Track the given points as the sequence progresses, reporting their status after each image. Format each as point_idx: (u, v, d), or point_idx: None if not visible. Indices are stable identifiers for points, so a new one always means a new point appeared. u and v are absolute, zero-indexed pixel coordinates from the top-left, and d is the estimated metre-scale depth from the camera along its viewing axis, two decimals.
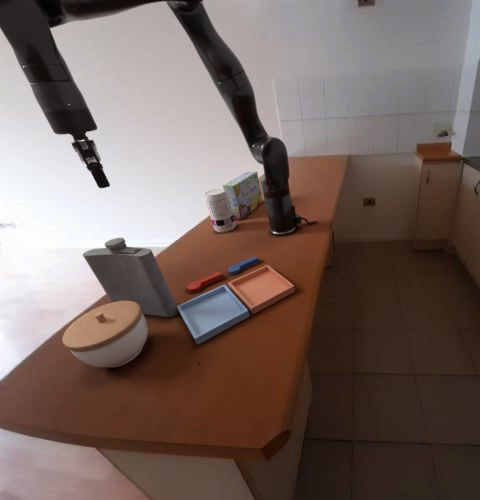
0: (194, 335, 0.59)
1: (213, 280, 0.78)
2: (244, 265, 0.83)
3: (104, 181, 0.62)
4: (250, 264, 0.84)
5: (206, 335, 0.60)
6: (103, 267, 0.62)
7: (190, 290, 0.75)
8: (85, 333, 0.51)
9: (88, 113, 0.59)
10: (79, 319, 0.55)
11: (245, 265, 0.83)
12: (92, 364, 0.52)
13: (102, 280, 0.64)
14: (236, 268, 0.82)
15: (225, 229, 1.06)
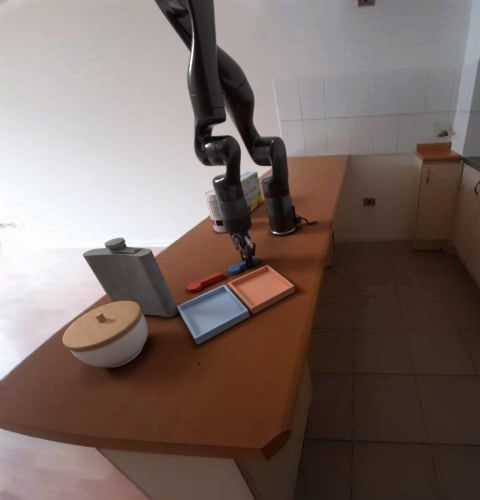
0: (194, 335, 0.59)
1: (213, 280, 0.78)
2: (244, 265, 0.83)
3: (252, 263, 0.83)
4: None
5: (206, 335, 0.60)
6: (103, 267, 0.62)
7: (190, 290, 0.75)
8: (85, 333, 0.51)
9: (249, 215, 0.78)
10: (79, 319, 0.55)
11: (245, 265, 0.83)
12: (92, 364, 0.52)
13: (102, 280, 0.64)
14: (236, 268, 0.82)
15: None
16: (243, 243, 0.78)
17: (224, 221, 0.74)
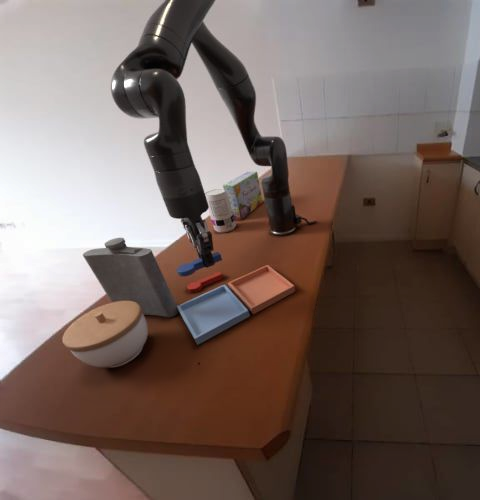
0: (194, 335, 0.59)
1: (213, 280, 0.78)
2: (200, 263, 0.61)
3: (211, 261, 0.61)
4: None
5: (206, 335, 0.60)
6: (103, 267, 0.62)
7: (190, 290, 0.75)
8: (85, 333, 0.51)
9: (204, 194, 0.56)
10: (79, 319, 0.55)
11: (202, 263, 0.61)
12: (92, 364, 0.52)
13: (102, 280, 0.64)
14: (188, 267, 0.60)
15: (225, 229, 1.06)
16: (195, 233, 0.56)
17: (165, 201, 0.53)
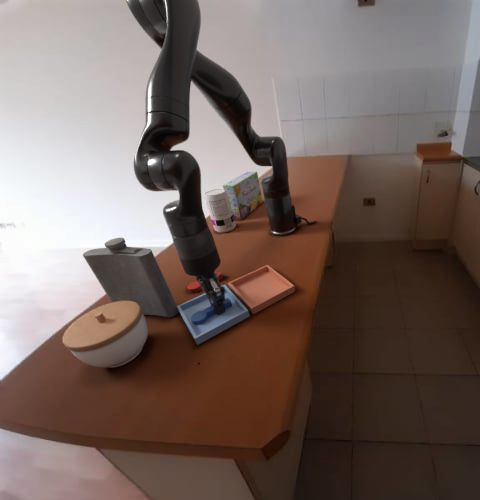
0: (194, 335, 0.59)
1: None
2: (212, 311, 0.66)
3: (222, 309, 0.66)
4: None
5: (206, 335, 0.60)
6: (103, 267, 0.62)
7: (190, 290, 0.75)
8: (85, 333, 0.51)
9: (216, 251, 0.60)
10: (79, 319, 0.55)
11: (214, 311, 0.66)
12: (92, 364, 0.52)
13: (102, 280, 0.64)
14: (201, 316, 0.64)
15: (225, 229, 1.06)
16: (208, 287, 0.60)
17: (181, 261, 0.57)
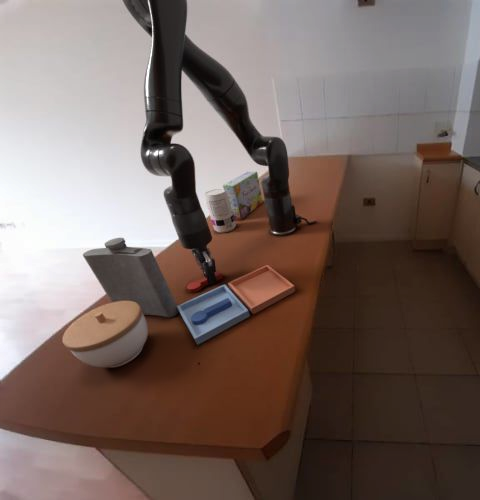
0: (194, 335, 0.59)
1: None
2: (212, 311, 0.66)
3: (214, 279, 0.77)
4: (220, 309, 0.67)
5: (206, 335, 0.60)
6: (103, 267, 0.62)
7: (190, 290, 0.75)
8: (85, 333, 0.51)
9: (208, 229, 0.72)
10: (79, 319, 0.55)
11: (214, 311, 0.66)
12: (92, 364, 0.52)
13: (102, 280, 0.64)
14: (201, 316, 0.64)
15: (225, 229, 1.06)
16: (202, 259, 0.72)
17: (179, 236, 0.68)
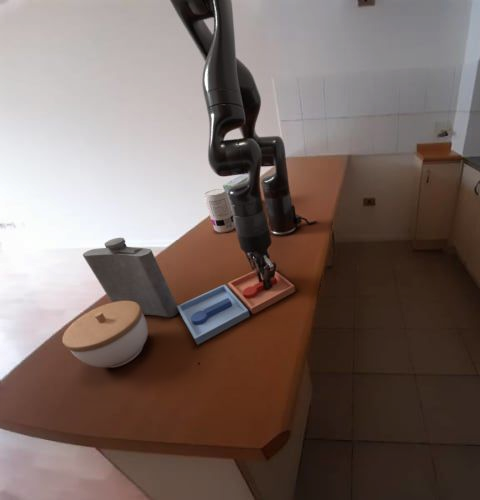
0: (194, 335, 0.59)
1: None
2: (212, 311, 0.66)
3: (270, 285, 0.73)
4: (220, 309, 0.67)
5: (206, 335, 0.60)
6: (103, 267, 0.62)
7: (246, 296, 0.70)
8: (85, 333, 0.51)
9: (269, 231, 0.67)
10: (79, 319, 0.55)
11: (214, 311, 0.66)
12: (92, 364, 0.52)
13: (102, 280, 0.64)
14: (201, 316, 0.64)
15: (225, 229, 1.06)
16: (261, 263, 0.67)
17: (240, 238, 0.64)
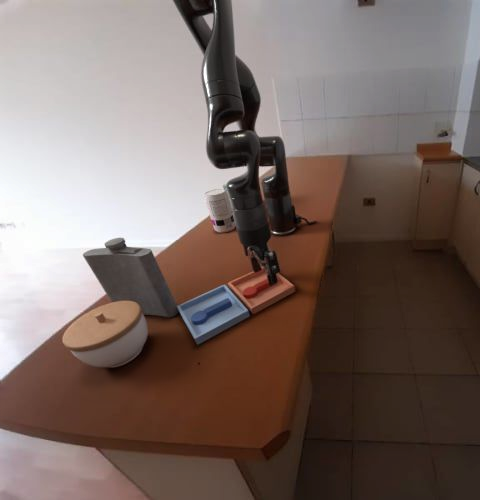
0: (194, 335, 0.59)
1: (268, 285, 0.74)
2: (212, 311, 0.66)
3: (275, 280, 0.70)
4: (220, 309, 0.67)
5: (206, 335, 0.60)
6: (103, 267, 0.62)
7: (246, 296, 0.70)
8: (85, 333, 0.51)
9: (268, 225, 0.67)
10: (79, 319, 0.55)
11: (214, 311, 0.66)
12: (92, 364, 0.52)
13: (102, 280, 0.64)
14: (201, 316, 0.64)
15: (225, 229, 1.06)
16: (261, 257, 0.67)
17: (240, 232, 0.63)
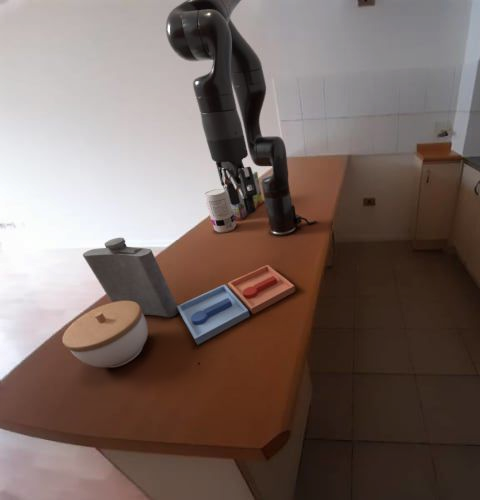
0: (194, 335, 0.59)
1: (268, 285, 0.74)
2: (212, 311, 0.66)
3: (253, 207, 0.62)
4: (220, 309, 0.67)
5: (206, 335, 0.60)
6: (103, 267, 0.62)
7: (246, 296, 0.70)
8: (85, 333, 0.51)
9: (244, 140, 0.59)
10: (79, 319, 0.55)
11: (214, 311, 0.66)
12: (92, 364, 0.52)
13: (102, 280, 0.64)
14: (201, 316, 0.64)
15: (225, 229, 1.06)
16: (236, 177, 0.59)
17: (210, 143, 0.56)
